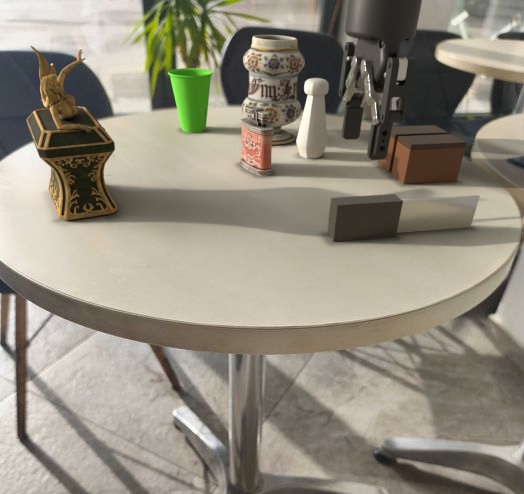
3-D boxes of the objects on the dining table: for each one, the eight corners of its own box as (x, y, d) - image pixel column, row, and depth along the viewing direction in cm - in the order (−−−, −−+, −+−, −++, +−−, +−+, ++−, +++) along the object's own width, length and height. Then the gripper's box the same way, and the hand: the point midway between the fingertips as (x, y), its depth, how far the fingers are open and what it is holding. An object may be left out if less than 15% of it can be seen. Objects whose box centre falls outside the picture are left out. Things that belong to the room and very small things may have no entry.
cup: (189, 137, 102) (185, 77, 95) (164, 128, 107) (159, 70, 100) (223, 130, 107) (221, 73, 100) (198, 121, 112) (195, 66, 105)
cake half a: (442, 171, 89) (451, 134, 85) (456, 181, 85) (467, 142, 81) (390, 174, 87) (398, 136, 83) (403, 184, 83) (411, 144, 79)
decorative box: (128, 217, 70) (104, 57, 58) (57, 228, 67) (15, 60, 54) (100, 172, 84) (76, 36, 72) (40, 180, 81) (4, 38, 68)
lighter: (276, 173, 86) (278, 111, 80) (259, 176, 84) (260, 113, 78) (252, 160, 91) (253, 101, 85) (236, 163, 90) (236, 103, 84)
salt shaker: (290, 152, 96) (294, 76, 88) (315, 149, 98) (321, 75, 90) (305, 161, 92) (311, 83, 83) (331, 157, 94) (339, 81, 86)
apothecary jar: (311, 140, 103) (320, 38, 92) (269, 150, 96) (272, 42, 85) (272, 127, 110) (275, 31, 98) (229, 136, 103) (228, 35, 92)
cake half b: (426, 160, 94) (434, 124, 90) (439, 169, 90) (448, 132, 86) (377, 163, 92) (383, 126, 88) (388, 172, 88) (395, 134, 84)
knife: (465, 222, 71) (475, 188, 68) (474, 230, 69) (485, 195, 66) (326, 233, 67) (331, 197, 64) (333, 241, 65) (337, 205, 62)
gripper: (456, -13, 46) (417, 165, 56) (392, -19, 56) (368, 132, 66) (380, -16, 44) (354, 168, 54) (329, -21, 55) (315, 133, 65)
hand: (362, 148), depth 60 cm, fingers open, 8 cm apart
